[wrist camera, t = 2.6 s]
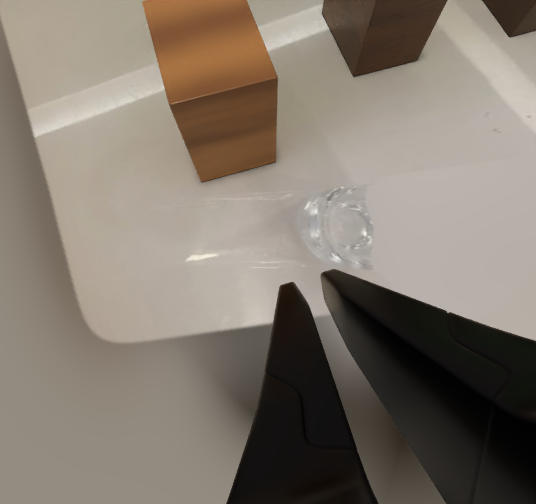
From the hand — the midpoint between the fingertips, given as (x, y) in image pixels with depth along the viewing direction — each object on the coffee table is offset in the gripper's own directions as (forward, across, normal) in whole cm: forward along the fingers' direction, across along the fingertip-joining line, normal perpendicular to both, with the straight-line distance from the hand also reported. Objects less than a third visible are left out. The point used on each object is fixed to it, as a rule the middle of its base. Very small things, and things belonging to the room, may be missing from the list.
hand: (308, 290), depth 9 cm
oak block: (+20, 0, -2) cm, 20 cm away
